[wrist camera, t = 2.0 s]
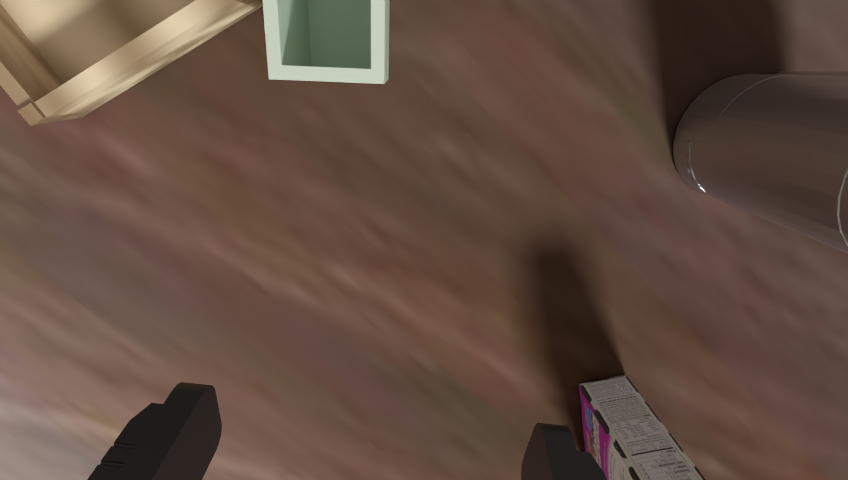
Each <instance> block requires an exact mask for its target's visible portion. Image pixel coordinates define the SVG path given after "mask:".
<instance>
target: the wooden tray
mask: <svg viewBox="0 0 848 480" xmlns="http://www.w3.org/2000/svg"><path fill="white" fill-rule="evenodd" d="M262 6H263V0H0V85H1V86H2V88H3V89H4V90H5V91H6V92H7V94H8V95H9V96H10V97H11V98H12V100H13V101H14V102H15V103H16V104H17V105H18V107H19V108H20V110H18V112H19V113H20V114H21V115H22V116H23V118H24V119H25V120H26V121H27V122H28V124H29V125H30V126H31V125H38V124H44V123H50V122H57V121H63V120H69V119H76V118H82V117H84V116H85V115H87V114H89V113H90V112H92V111H93V110H95V109H97V108H98V107H100V106H102V105H103V104H105V103H106V102H108V101H110V100H111V99H113V98H115V97H116V96H118V95H119V94H121V93H123V92H124V91H126V90H128V89H129V88H131V87H132V86H134V85H136V84H137V83H139V82H141V81H142V80H144V79H145V78H147V77H149V76H150V75H152V74H154V73H155V72H157V71H158V70H160V69H162V68H163V67H165V66H166V65H168V64H170V63H171V62H173V61H175V60H176V59H178V58H179V57H181V56H183V55H184V54H186V53H188V52H189V51H191V50H192V49H194V48H196V47H197V46H199V45H201V44H202V43H204V42H205V41H207V40H209V39H210V38H212V37H214V36H215V35H217V34H218V33H220V32H222V31H223V30H225V29H227V28H228V27H230V26H231V25H233V24H235V23H236V22H238V21H240V20H241V19H243V18H244V17H246V16H248V15H249V14H251V13H253V12H254V11H256V10H257V9H259V8H261V7H262Z"/></svg>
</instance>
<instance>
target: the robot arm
mask: <svg viewBox="0 0 848 480" xmlns="http://www.w3.org/2000/svg"><path fill="white" fill-rule="evenodd" d="M673 156H674V161H675V166H676V168H677V170H678V172H679V175H680V176H681V177H682V179H683V180H684V181H685V182H686V183H687V184H688V185H689V186H691V187H692V188H694V189H695V190H697V191H700V192H702V193H704V194H707V195H709V196H712V197H714V198H716V199H719V200H721V201H723V202H726V203H728V204H730V205H732V206H735V207H737V208H740V209H742V210H744V211H747V212H749V213H752V214H754V215H756V216H759V217H761V218H764V219H766V220H768V221H771V222H773V223H776V224H778V225H780V226H783V227H785V228H788V229H790V230H792V231H795V232H797V233H800V234H802V235H804V236H807V237H809V238H812V239H814V240H816V241H819V242H821V243H824V244H826V245H828V246H831V247H833V248H835V249H838V250H840V251H843V252H845V253H847V254H848V72H807V71H780V72H778V73H776V74H741V75H735V76H731V77H728V78H724V79H722V80H720V81H718V82H716V83H714V84H712V85H711V86H710V87H708V88H707V89H706V90H704V91H703V92H702V93H700V94H699V95H698V96H697V98H696V99H695V100H694V101H693V102H692V103H691V104H690V105H689V107H688V108H687V110H686V111H685V113H684V114H683V116H682V118H681V120H680V122H679V125H678V127H677V129H676V134H675V138H674V144H673ZM221 429H222V425H221V419H220V413H219V408H218V403H217V397H216V392H215V388H214V387H213V386H211V385H202V384H193V383H184V382H181V383H179V384H178V385H176V387H175V388H174V389H173V390H172V392H171V393H170V395H169V396H168V398H167V399H166V401H165V402H164V404H157V403H151V404H150V405H149V406H147V407H146V408H145V409H144V410H142V411H141V412H140V413H139V414H137V415H136V416H135V417H134V418H132V419H131V420H130V421H129V422H128V424H127V425H126V426H125V428H124V429H123V431H122V432H121V433H120V435H119V436H118V438H117V439H116V440H115V442H114V446H113V447H110V449H109V450H108V452H107V453H106V454H105V456H104V457H103V459H102V460H101V464H100V465H98V466H97V467H96V468H95V470H94V471H93V473H92V474H91V475H90V477H89V478H88V480H202V478H203V476H204V474H205V472H206V470H207V468H208V466H209V464H210V462H211V460H212V458H213V456H214V454H215V452H216V449H217V447H218V444H219V440H220V436H221ZM521 480H607V479H606V476H605V473H604V472H603V471H602V469H601V468H600V466H599V465H598V463H597V462H596V460H595V459H594V458H593V456H592V455H591V453H590V452H582V451H577V450H576V447H575V443H574V439H573V436H572V433H571V430H570V429H569V427H567V426H561V425H552V424H543V423H537V424H536V425H535V427H534V430H533V433H532V436H531V438H530V441H529V444H528V446H527V449H526V452H525V455H524V458H523V461H522V470H521Z"/></svg>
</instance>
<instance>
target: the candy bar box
mask: <svg viewBox="0 0 848 480" xmlns="http://www.w3.org/2000/svg"><path fill="white" fill-rule="evenodd" d="M579 393H580V402H581V414H582V424H583V435H584V446H585V452H590V453H591V455H592V456H593V458H594V459H595V460H596V462H597V463H598V465H599V466H600V468H601V469H602V471H603V472H604V473H605V476H606V479H607V480H705V478H704V477H703V476H702V475H701V473H700V472H699V470H698V469H697V468H696V466H695V465H694V464H693V463H692V461H691V460H690V459H689V457H688V456H687V455H686V454H685V452H684V451H683V450H682V449H681V447H680V446H679V445H678V443H677V442H676V441H675V439H674V438H673V437H672V436H671V434H670V433H669V431H668V430H667V429H666V427H665V426H664V425H663V424H662V422H661V421H660V420H659V419H658V417H657V416H656V414H655V413H654V412H653V410H652V409H651V408H650V406H649V405H648V404H647V402H646V401H645V400H644V398H643V397H642V396H641V394H640V393H639V392H638V390H637V389H636V388H635V386H634V385H633V384H632V383H631V381H630V380H629V379H628V377H627V376H626V375H623V376H615V377H610V378H607V379H602V380H597V381H591V382H586V383H580V384H579Z"/></svg>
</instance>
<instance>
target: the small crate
mask: <svg viewBox="0 0 848 480" xmlns="http://www.w3.org/2000/svg"><path fill="white" fill-rule="evenodd" d="M263 12H264V24H265V37H266V49H267V62H268V74H269V79H277V80H302V81H327V82H352V83H377V84H385V83H386V82H387V81H388V80H389V0H263Z"/></svg>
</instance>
